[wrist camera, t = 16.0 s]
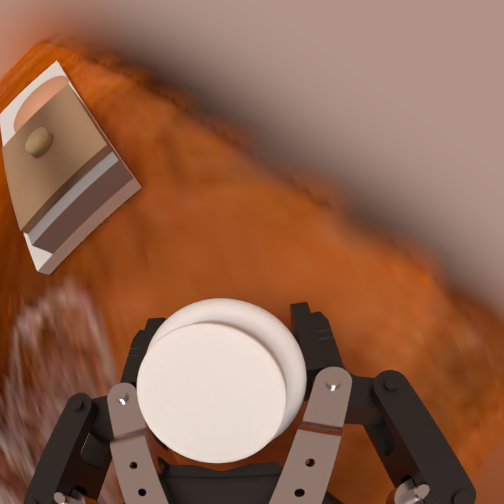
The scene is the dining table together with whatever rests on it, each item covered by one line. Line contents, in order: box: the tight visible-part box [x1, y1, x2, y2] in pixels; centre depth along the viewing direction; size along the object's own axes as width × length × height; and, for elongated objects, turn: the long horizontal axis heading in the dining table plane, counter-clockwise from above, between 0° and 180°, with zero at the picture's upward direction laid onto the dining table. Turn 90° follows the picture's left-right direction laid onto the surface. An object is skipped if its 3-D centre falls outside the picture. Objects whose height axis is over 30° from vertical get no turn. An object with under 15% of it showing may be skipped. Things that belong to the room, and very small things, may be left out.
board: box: [0, 61, 142, 275], centre depth 19 cm, size 10×25×4 cm, turn 40°
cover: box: [2, 84, 125, 234], centre depth 16 cm, size 8×10×4 cm
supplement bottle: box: [137, 298, 307, 463], centre depth 11 cm, size 6×6×10 cm
